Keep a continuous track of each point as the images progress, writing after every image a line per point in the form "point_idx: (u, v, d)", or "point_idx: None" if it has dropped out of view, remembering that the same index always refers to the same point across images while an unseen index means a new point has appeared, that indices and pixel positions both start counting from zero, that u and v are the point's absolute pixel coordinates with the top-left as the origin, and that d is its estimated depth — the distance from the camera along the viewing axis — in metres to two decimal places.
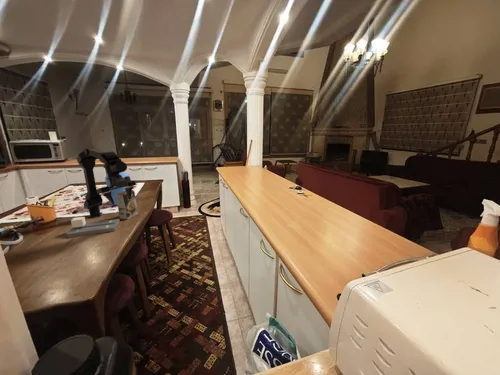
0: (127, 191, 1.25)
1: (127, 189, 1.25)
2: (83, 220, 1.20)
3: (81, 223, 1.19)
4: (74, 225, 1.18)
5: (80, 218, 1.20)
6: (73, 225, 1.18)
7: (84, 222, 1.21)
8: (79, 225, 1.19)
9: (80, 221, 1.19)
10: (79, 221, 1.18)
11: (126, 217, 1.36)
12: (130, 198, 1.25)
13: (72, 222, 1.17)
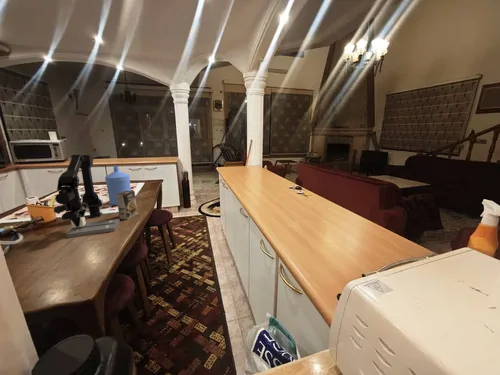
0: None
1: None
2: (83, 220, 1.20)
3: (81, 223, 1.19)
4: (74, 225, 1.18)
5: None
6: (73, 225, 1.18)
7: (84, 222, 1.21)
8: (79, 225, 1.19)
9: (80, 221, 1.19)
10: None
11: (126, 217, 1.36)
12: (76, 225, 1.18)
13: (72, 222, 1.17)
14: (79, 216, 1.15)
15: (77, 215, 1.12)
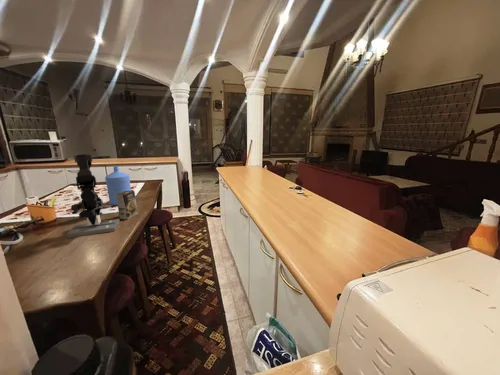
0: None
1: None
2: (98, 218, 1.23)
3: (96, 221, 1.21)
4: (90, 223, 1.20)
5: None
6: (89, 223, 1.20)
7: (99, 220, 1.24)
8: (95, 223, 1.21)
9: (96, 219, 1.21)
10: None
11: (126, 217, 1.36)
12: (91, 223, 1.20)
13: (88, 220, 1.20)
14: (95, 214, 1.17)
15: (93, 213, 1.15)
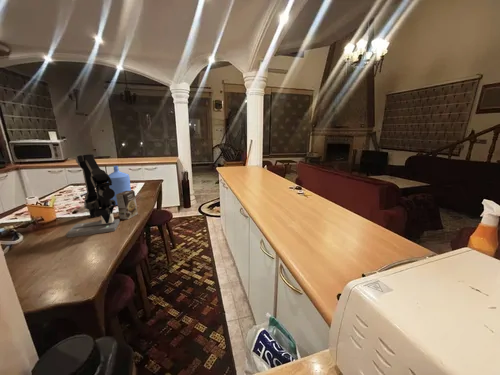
0: None
1: None
2: (112, 217, 1.25)
3: (110, 220, 1.23)
4: (104, 221, 1.23)
5: None
6: (103, 221, 1.22)
7: (113, 218, 1.26)
8: None
9: None
10: None
11: (126, 217, 1.36)
12: None
13: (102, 218, 1.22)
14: (109, 213, 1.19)
15: (108, 212, 1.17)
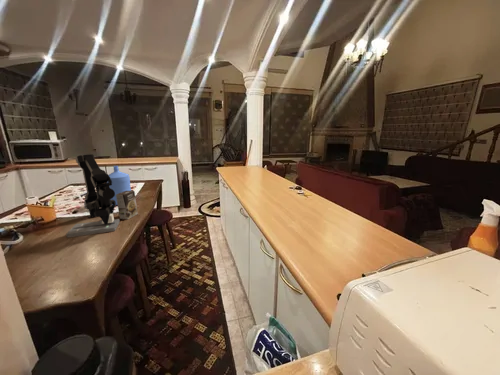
0: None
1: None
2: (112, 217, 1.25)
3: (110, 220, 1.23)
4: None
5: None
6: None
7: (113, 218, 1.26)
8: (108, 221, 1.23)
9: (110, 217, 1.23)
10: (109, 217, 1.23)
11: (126, 217, 1.36)
12: (104, 223, 1.20)
13: None
14: (108, 214, 1.17)
15: (108, 211, 1.17)
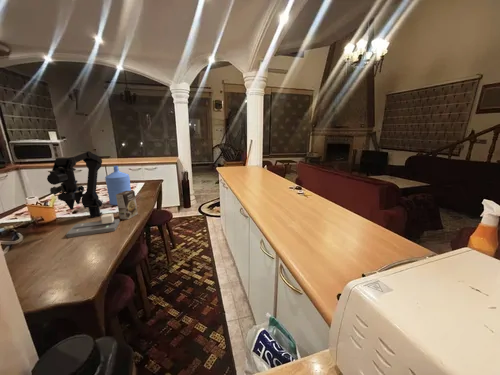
0: None
1: None
2: (112, 217, 1.25)
3: (110, 220, 1.23)
4: (104, 221, 1.23)
5: (109, 215, 1.24)
6: (103, 221, 1.22)
7: (113, 218, 1.26)
8: (108, 221, 1.23)
9: (110, 217, 1.23)
10: (109, 217, 1.23)
11: (126, 217, 1.36)
12: (70, 208, 1.20)
13: (102, 218, 1.22)
14: (73, 198, 1.17)
15: (73, 196, 1.16)
